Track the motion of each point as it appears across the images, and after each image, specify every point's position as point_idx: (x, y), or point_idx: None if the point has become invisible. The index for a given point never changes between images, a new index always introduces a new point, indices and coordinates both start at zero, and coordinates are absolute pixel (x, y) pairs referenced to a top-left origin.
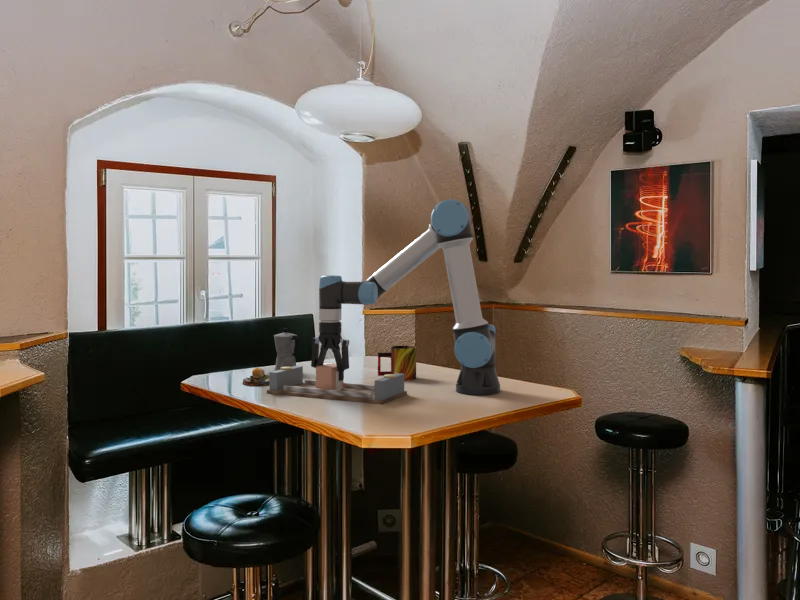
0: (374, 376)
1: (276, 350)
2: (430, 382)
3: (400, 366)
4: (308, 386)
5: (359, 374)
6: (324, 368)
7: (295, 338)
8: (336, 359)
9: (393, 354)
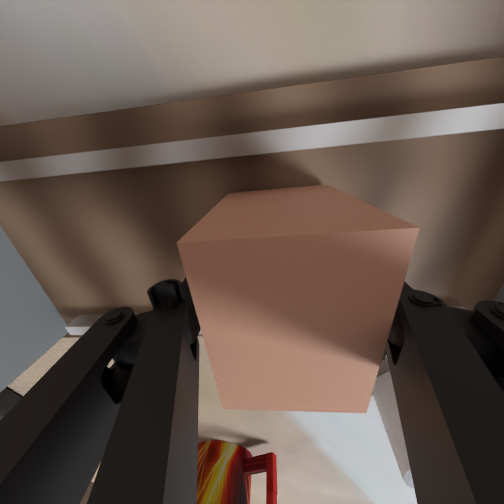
0: (297, 456)
1: None
2: None
3: (202, 492)
4: (422, 273)
5: (346, 464)
6: (276, 231)
7: None
8: (149, 408)
9: None
